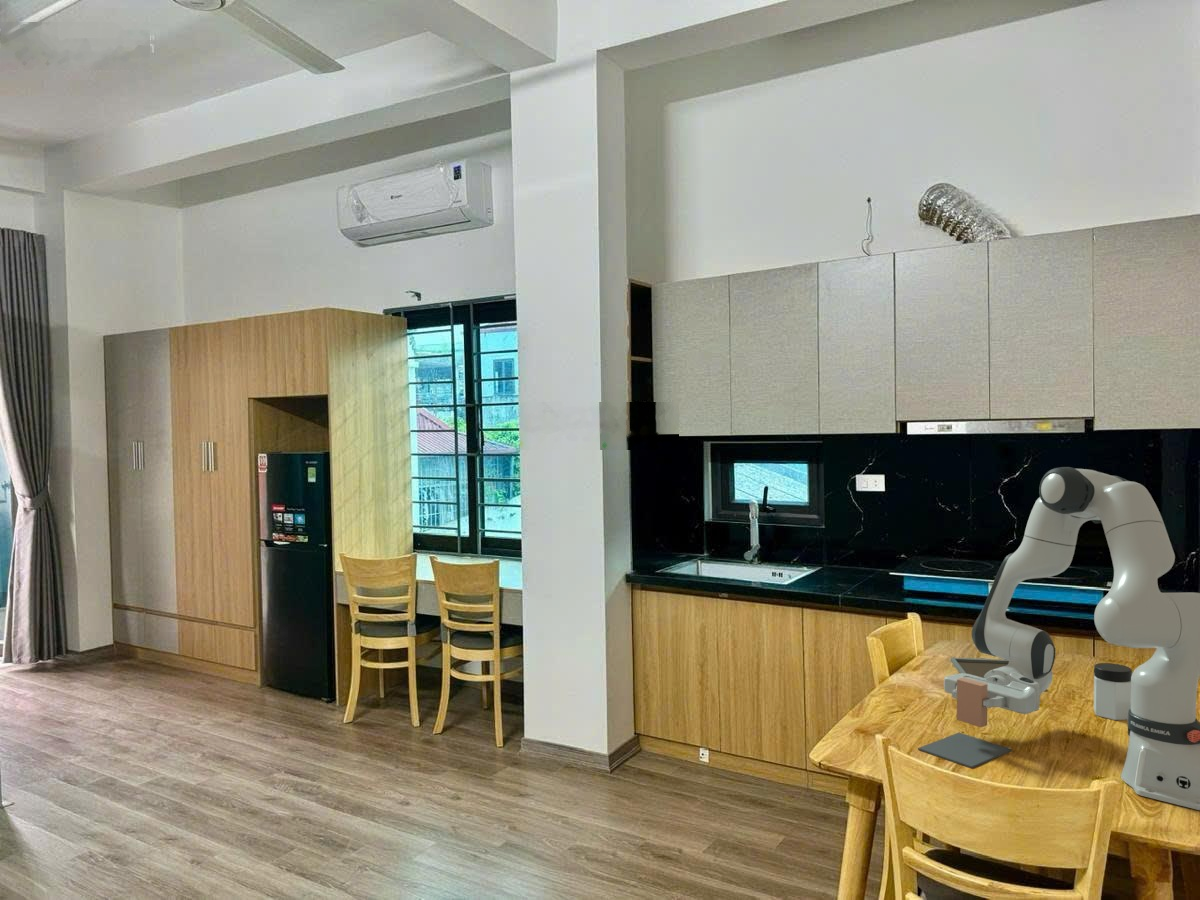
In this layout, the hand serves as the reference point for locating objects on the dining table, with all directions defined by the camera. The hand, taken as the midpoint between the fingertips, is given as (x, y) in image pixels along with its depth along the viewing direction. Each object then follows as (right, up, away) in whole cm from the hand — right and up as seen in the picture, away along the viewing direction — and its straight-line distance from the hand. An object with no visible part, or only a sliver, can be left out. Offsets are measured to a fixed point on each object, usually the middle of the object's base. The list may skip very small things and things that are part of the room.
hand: (969, 699), depth 195 cm
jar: (+44, -10, +20) cm, 50 cm away
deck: (+1, -5, +1) cm, 6 cm away
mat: (-2, -11, -1) cm, 11 cm away
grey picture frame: (+31, -9, +56) cm, 65 cm away
